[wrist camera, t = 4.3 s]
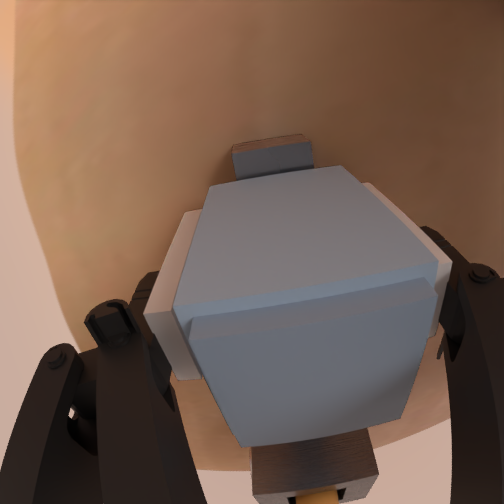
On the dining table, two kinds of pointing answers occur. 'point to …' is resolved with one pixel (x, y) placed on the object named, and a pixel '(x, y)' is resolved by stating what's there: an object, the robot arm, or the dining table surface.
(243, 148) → the rail
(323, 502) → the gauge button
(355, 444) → the dark grey socket box
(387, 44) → the dining table surface
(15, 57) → the dining table surface
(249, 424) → the block
